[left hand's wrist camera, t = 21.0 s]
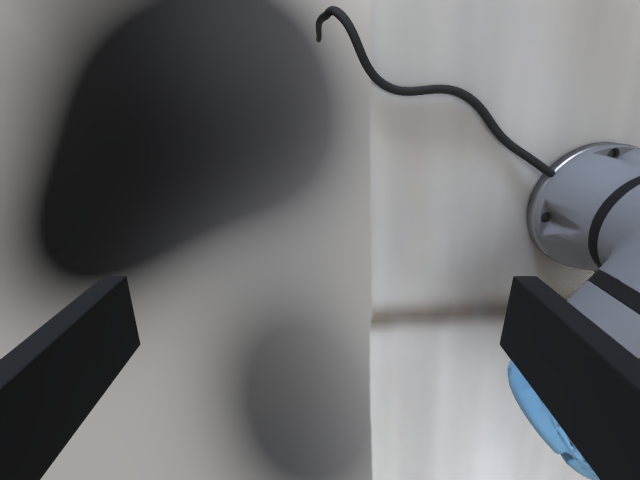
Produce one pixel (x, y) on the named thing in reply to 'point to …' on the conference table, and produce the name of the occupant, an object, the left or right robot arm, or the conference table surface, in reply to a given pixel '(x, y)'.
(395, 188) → the conference table surface
